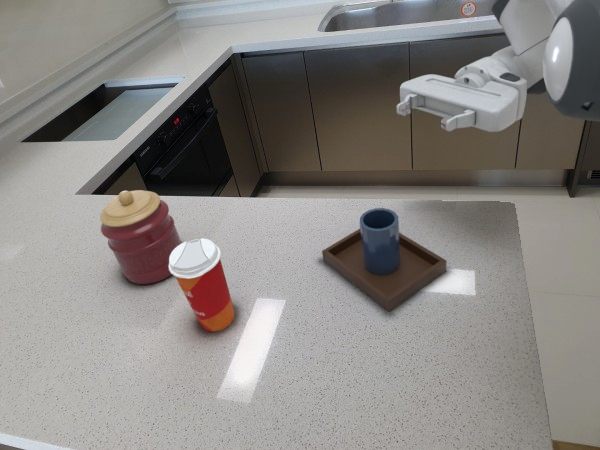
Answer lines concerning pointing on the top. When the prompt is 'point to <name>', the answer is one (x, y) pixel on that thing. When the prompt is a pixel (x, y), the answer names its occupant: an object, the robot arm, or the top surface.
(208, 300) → the coffee cup
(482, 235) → the top surface
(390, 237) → the tumbler
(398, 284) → the tray
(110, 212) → the kitchen canister
